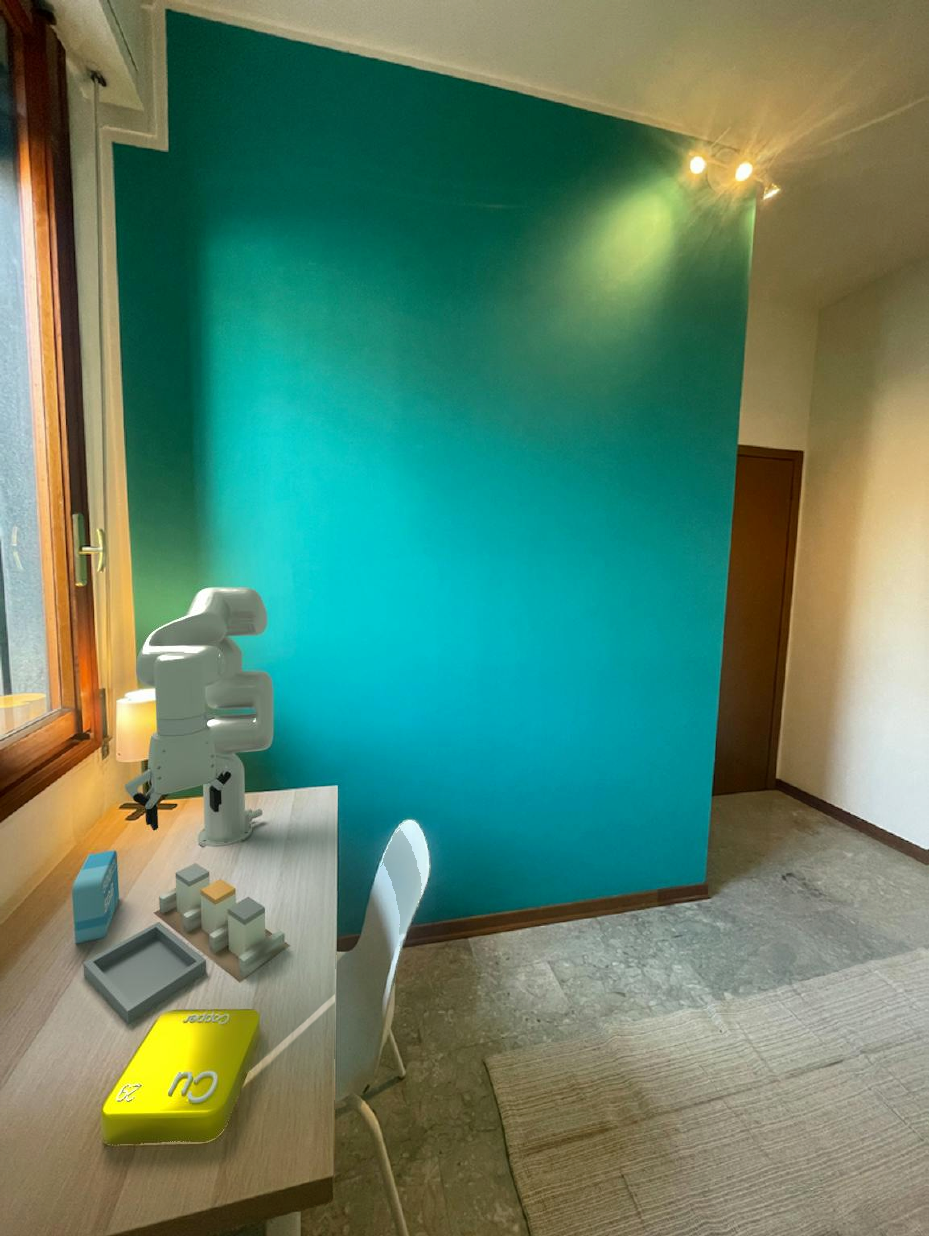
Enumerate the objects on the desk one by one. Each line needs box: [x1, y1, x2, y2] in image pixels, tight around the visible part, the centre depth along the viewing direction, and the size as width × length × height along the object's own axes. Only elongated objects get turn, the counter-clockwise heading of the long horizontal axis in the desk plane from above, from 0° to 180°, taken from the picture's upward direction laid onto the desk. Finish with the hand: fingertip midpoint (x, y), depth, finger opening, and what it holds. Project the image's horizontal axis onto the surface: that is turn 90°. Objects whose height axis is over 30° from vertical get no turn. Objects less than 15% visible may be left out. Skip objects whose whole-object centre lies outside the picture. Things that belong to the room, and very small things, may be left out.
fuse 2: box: [228, 896, 266, 957], centre depth 91 cm, size 4×5×8 cm
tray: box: [82, 921, 207, 1025], centre depth 85 cm, size 12×16×3 cm
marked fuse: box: [200, 878, 237, 935], centre depth 96 cm, size 4×5×8 cm
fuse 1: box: [175, 862, 211, 914], centre depth 100 cm, size 4×5×8 cm
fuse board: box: [153, 887, 291, 983], centre depth 96 cm, size 10×29×4 cm, turn 56°
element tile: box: [100, 1008, 261, 1145], centre depth 68 cm, size 15×15×5 cm
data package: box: [71, 849, 120, 944], centre depth 97 cm, size 12×4×12 cm, turn 23°
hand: (185, 818), depth 89 cm, fingers open, 9 cm apart
